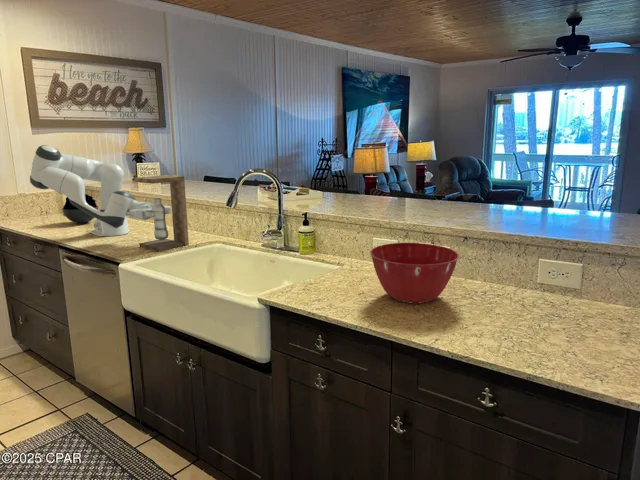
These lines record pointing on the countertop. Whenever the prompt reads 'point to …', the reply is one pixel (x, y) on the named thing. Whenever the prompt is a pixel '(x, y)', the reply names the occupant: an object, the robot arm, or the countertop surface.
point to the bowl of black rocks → (78, 211)
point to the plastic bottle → (159, 219)
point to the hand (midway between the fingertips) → (160, 213)
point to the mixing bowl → (413, 270)
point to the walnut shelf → (177, 213)
